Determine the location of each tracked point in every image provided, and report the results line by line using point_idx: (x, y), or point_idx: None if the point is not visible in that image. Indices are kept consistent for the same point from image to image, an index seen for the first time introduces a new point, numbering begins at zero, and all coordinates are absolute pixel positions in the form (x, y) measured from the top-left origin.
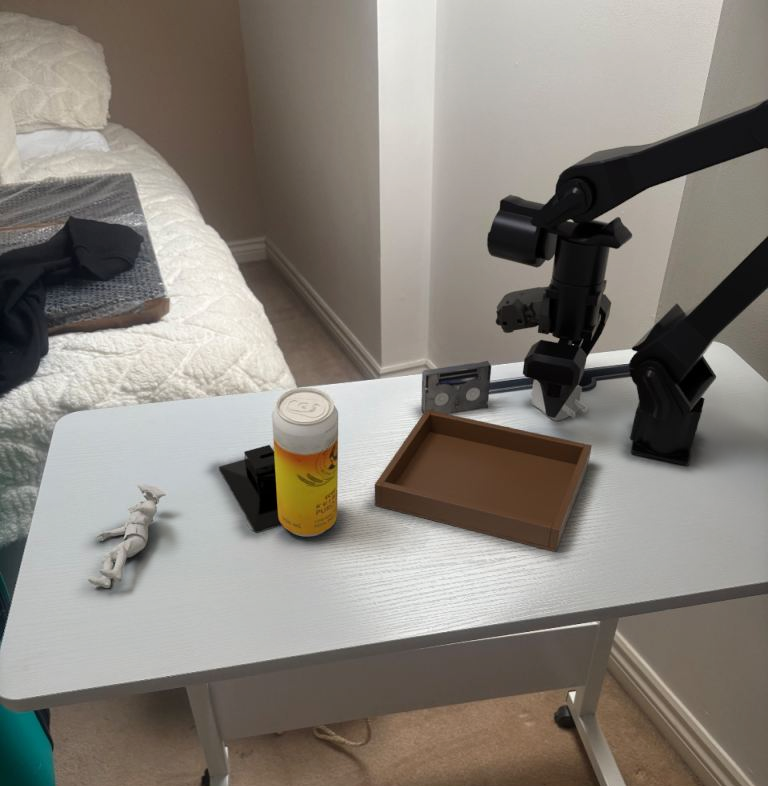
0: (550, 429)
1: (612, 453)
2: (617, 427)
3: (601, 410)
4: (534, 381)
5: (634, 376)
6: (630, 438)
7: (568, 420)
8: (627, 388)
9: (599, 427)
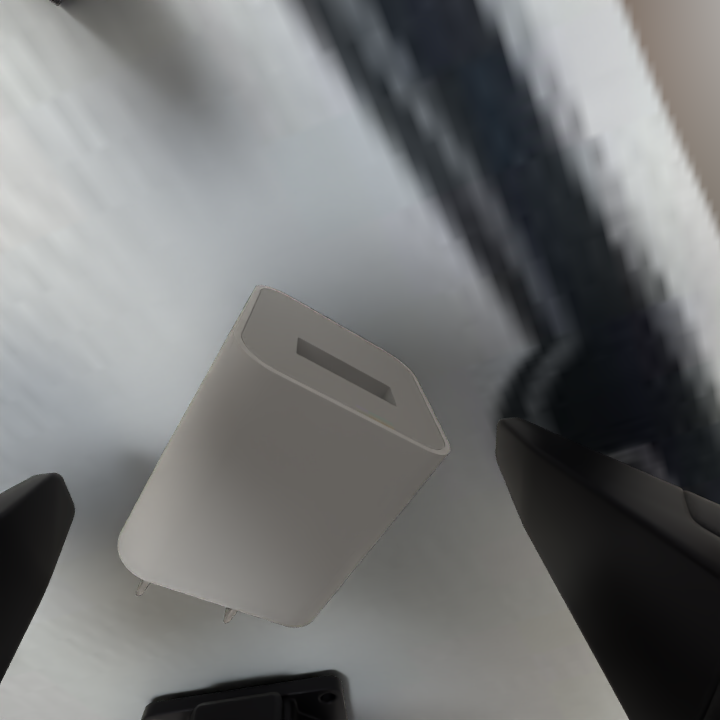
0: (109, 442)
1: (113, 661)
2: None
3: (384, 552)
4: (227, 346)
5: None
6: (196, 710)
7: None
8: None
9: None
